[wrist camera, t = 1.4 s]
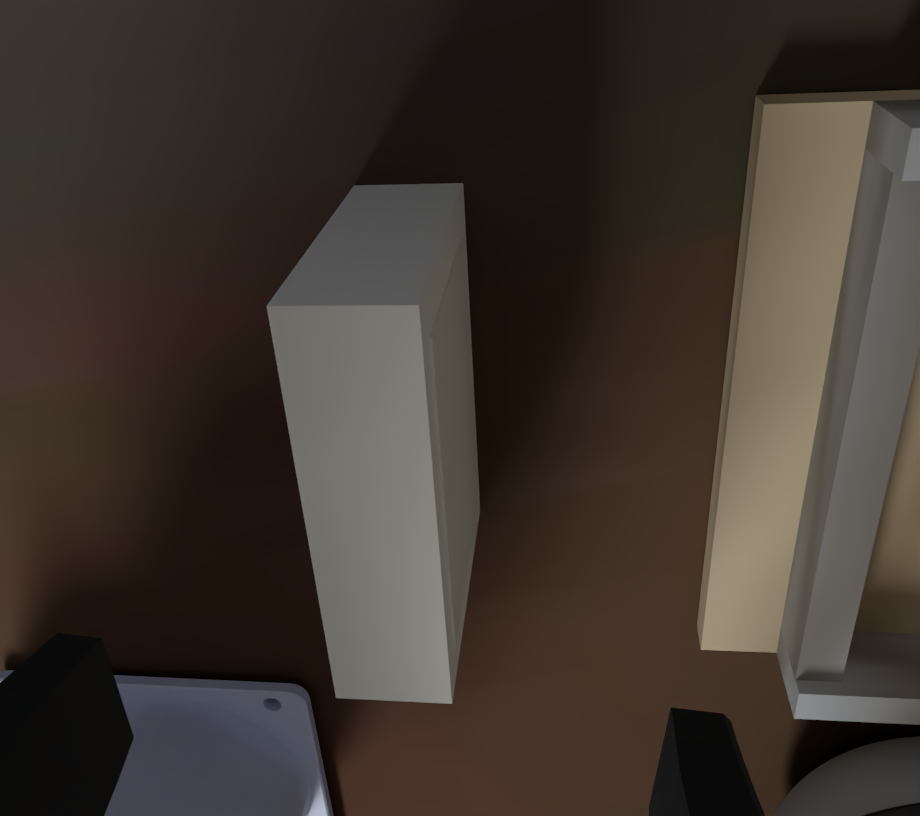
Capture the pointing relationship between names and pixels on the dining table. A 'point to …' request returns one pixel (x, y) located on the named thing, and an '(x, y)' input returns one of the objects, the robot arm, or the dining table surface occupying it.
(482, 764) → the dining table surface
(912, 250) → the door frame
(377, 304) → the door panel
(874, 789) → the egg shaped speaker
